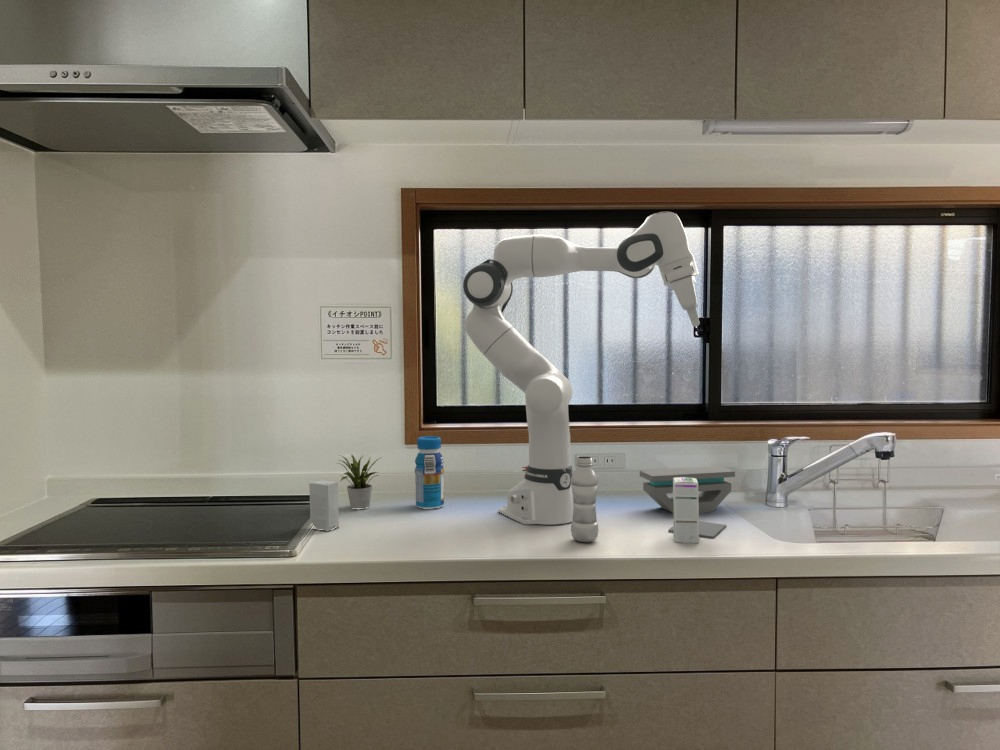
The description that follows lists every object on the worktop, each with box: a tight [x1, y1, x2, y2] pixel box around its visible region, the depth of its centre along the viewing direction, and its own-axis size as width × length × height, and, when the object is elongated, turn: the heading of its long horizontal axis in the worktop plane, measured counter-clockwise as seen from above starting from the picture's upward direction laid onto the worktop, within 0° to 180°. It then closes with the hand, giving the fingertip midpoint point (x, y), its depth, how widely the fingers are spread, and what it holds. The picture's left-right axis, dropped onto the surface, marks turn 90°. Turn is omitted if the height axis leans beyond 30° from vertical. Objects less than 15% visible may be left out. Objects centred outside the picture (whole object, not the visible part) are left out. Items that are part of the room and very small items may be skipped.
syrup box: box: [672, 477, 700, 544], centre depth 159 cm, size 6×6×14 cm
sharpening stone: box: [639, 465, 736, 514], centre depth 188 cm, size 25×8×11 cm, turn 103°
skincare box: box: [308, 479, 340, 530], centre depth 171 cm, size 6×4×12 cm
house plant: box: [337, 453, 381, 509], centre depth 192 cm, size 14×14×16 cm
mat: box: [667, 520, 727, 539], centre depth 168 cm, size 12×11×1 cm
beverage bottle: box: [414, 435, 445, 509], centre depth 193 cm, size 8×8×20 cm
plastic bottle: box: [570, 455, 599, 543], centre depth 159 cm, size 6×7×20 cm
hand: (696, 325), depth 169 cm, fingers open, 8 cm apart
